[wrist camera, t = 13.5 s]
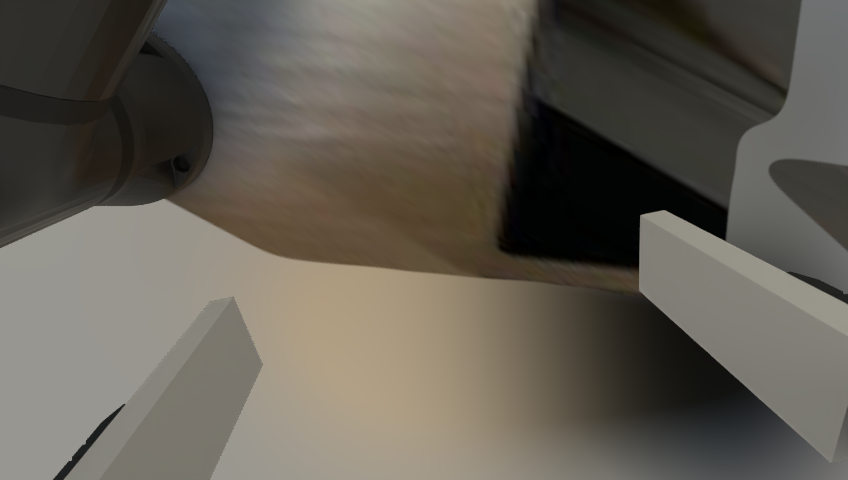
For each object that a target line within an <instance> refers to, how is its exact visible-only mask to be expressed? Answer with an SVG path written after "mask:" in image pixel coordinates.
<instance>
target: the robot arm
mask: <svg viewBox="0 0 848 480" xmlns="http://www.w3.org/2000/svg"><path fill="white" fill-rule="evenodd" d="M166 2H167V0H0V248H2V247H4V246H6V245H8V244H11V243H13V242H15V241H17V240H19V239H22V238H24V237H26V236H29V235H31V234H33V233H35V232H37V231H40V230H42V229H44V228H46V227H48V226H51V225H53V224H55V223H57V222H60V221H62V220H64V219H66V218H69V217H71V216H73V215H75V214H78V213H80V212H82V211H84V210H87V209H89V208H90V207H93V206H135V205H143V204H148V203H152V202H156V201H159V200H162V199H164V198H166V197H168V196H170V195H172V194H174V193H176V192H178V191H179V190H181V189H183V188H184V187H186V186H187V185H189V184H190V183H191V182H192V181H193V180H194V179H195V178H196V177H197V176H198V174H199V173H200V172H201V170H202V169H203V167H204V165H205V164H206V162H207V159H208V157H209V154H210V150H211V146H212V139H213V124H212V116H211V111H210V107H209V103H208V100H207V98H206V95H205V92H204V90H203V88H202V86H201V84H200V82H199V80H198V79H197V77H196V76H195V74H194V72H193V71H192V70H191V68H190V67H189V65H188V64H187V63H186V62H185V61H184V59H183V58H182V57H181V56H180V55H179V54H178V53H177V52H176V51H175V50H174V49H173V48H172V47H171V46H169V45H168V44H167V43H166V42H165V41H163V40H162V39H161V38H159V37H158V36H156V35H155V34H153V33H152V32H151V30H152V28H153V26H154V24H155V23H156V21H157V19H158V17H159V15H160V13H161V11H162V10H163V8H164V6H165V4H166ZM639 291H640V292H641V293H642V294H644V295H645V296H646V297H647V298H648V299H649V300H650V301H651V302H653V303H654V304H655V305H656V306H657V307H658V308H659V309H660V310H661V311H663V312H664V313H665V314H666V315H667V316H668V317H669V318H670V319H671V320H673V321H674V322H675V323H676V324H677V325H678V326H679V327H680V328H681V329H683V330H684V331H685V332H686V333H687V334H688V335H689V336H690V337H691V338H693V339H694V340H695V341H696V342H697V343H698V344H699V345H700V346H702V347H703V348H704V349H705V350H706V351H707V352H708V353H709V354H711V356H713V357H714V358H715V359H716V360H717V361H718V362H720V363H721V364H722V365H723V366H724V367H725V368H726V369H727V370H728V371H729V372H730V373H732V374H733V375H734V376H735V377H736V378H737V379H738V380H739V381H741V382H742V383H743V384H744V385H745V386H746V387H747V388H748V389H749V390H750V391H752V392H753V393H754V394H755V395H756V396H757V397H758V398H759V399H760V400H762V401H763V402H764V403H765V404H766V405H767V406H768V407H769V408H771V409H772V410H773V411H774V412H775V413H776V414H777V415H778V416H779V417H780V418H782V419H783V420H784V421H785V422H786V423H787V424H788V425H789V426H791V427H792V428H793V429H794V430H795V431H796V432H797V433H798V434H799V435H801V436H802V437H803V438H804V439H805V440H806V441H807V442H809V444H811V445H812V446H813V447H814V448H815V449H816V450H817V451H818V452H819V453H821V454H822V455H823V456H824V457H825V458H826V459H827V460H828V461H829V462H831V463H835V462H841V461H846V460H848V294H845V295H844V294H843V291H840V290H839V289H837V288H834V287H832V286H830V285H828V284H826V283H824V282H822V281H820V280H817V279H814V278H811V277H807V276H804V275H800V274H797V273H793V272H784V271H782V270H780V269H778V268H776V267H774V266H772V265H770V264H768V263H766V262H764V261H762V260H760V259H758V258H756V257H754V256H753V255H751V254H749V253H747V252H745V251H743V250H741V249H739V248H737V247H735V246H733V245H731V244H729V243H727V242H725V241H723V240H721V239H719V238H717V237H715V236H714V235H712V234H710V233H708V232H706V231H704V230H702V229H700V228H698V227H696V226H694V225H692V224H690V223H688V222H686V221H684V220H682V219H680V218H678V217H677V216H675V215H673V214H671V213H669V212H667V211H665V210H664V211H659V212H654V213H649V214H644V215H640V266H639ZM262 365H263V364H262V362H261V359H260V357H259V355H258V353H257V350H256V348H255V346H254V343H253V341H252V339H251V336H250V334H249V332H248V330H247V327H246V325H245V322H244V320H243V318H242V315H241V313H240V311H239V308H238V306H237V304H236V302H235V299H234V297H230V298H225V299H220V300H215V301H210V302H209V303H208V305H207V306H206V307H205V308H204V309H203V311H202V312H201V313H200V314H199V316H198V317H197V318H196V319H195V321H194V322H193V323H192V324H191V325H190V327H189V328H188V329H187V330H186V331H185V333H184V334H183V335H182V336H181V338H180V339H179V340H178V341H177V342H176V344H175V345H174V346H173V347H172V348H171V350H170V351H169V352H168V353H167V355H166V356H165V357H164V358H163V359H162V361H161V362H160V363H159V364H158V365H157V367H156V368H155V369H154V371H153V372H152V373H151V374H150V375H149V377H148V378H147V379H146V380H145V381H144V383H143V384H142V385H141V386H140V387H139V389H138V390H137V391H136V392H135V394H134V395H133V396H132V397H131V399H130V400H129V401H128V402H127V403H126V404H123V405H122V406H121V407H120V408H118V409H117V410H116V411H115V412H114V413H112V414H111V415H110V416H109V417H107V418H106V419H105V420H104V421H103V422H102V423H101V424H100V425H99V426H98V427H97V429H96V430H95V431H94V432H93V433H92V434H91V436H90V437H89V438H88V439H87V440H86V444H85V445H82V446H81V447H80V449H79V450H78V451H77V452H76V453H75V454H74V456H73V457H72V461H69V462H68V463H67V464H66V465H65V466H64V467H63V469H62V470H61V471H60V472H59V473H58V475H57V476H56V477H55V478H54V479H53V480H210V478H211V475H212V474H213V472H214V469H215V467H216V465H217V463H218V461H219V459H220V456H221V454H222V452H223V450H224V448H225V445H226V443H227V441H228V439H229V437H230V435H231V433H232V430H233V427H234V425H235V424H236V422H237V419H238V417H239V415H240V413H241V411H242V409H243V407H244V404H245V402H246V400H247V398H248V396H249V393H250V391H251V389H252V387H253V385H254V383H255V381H256V378H257V376H258V374H259V372H260V370H261V368H262Z"/></svg>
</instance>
